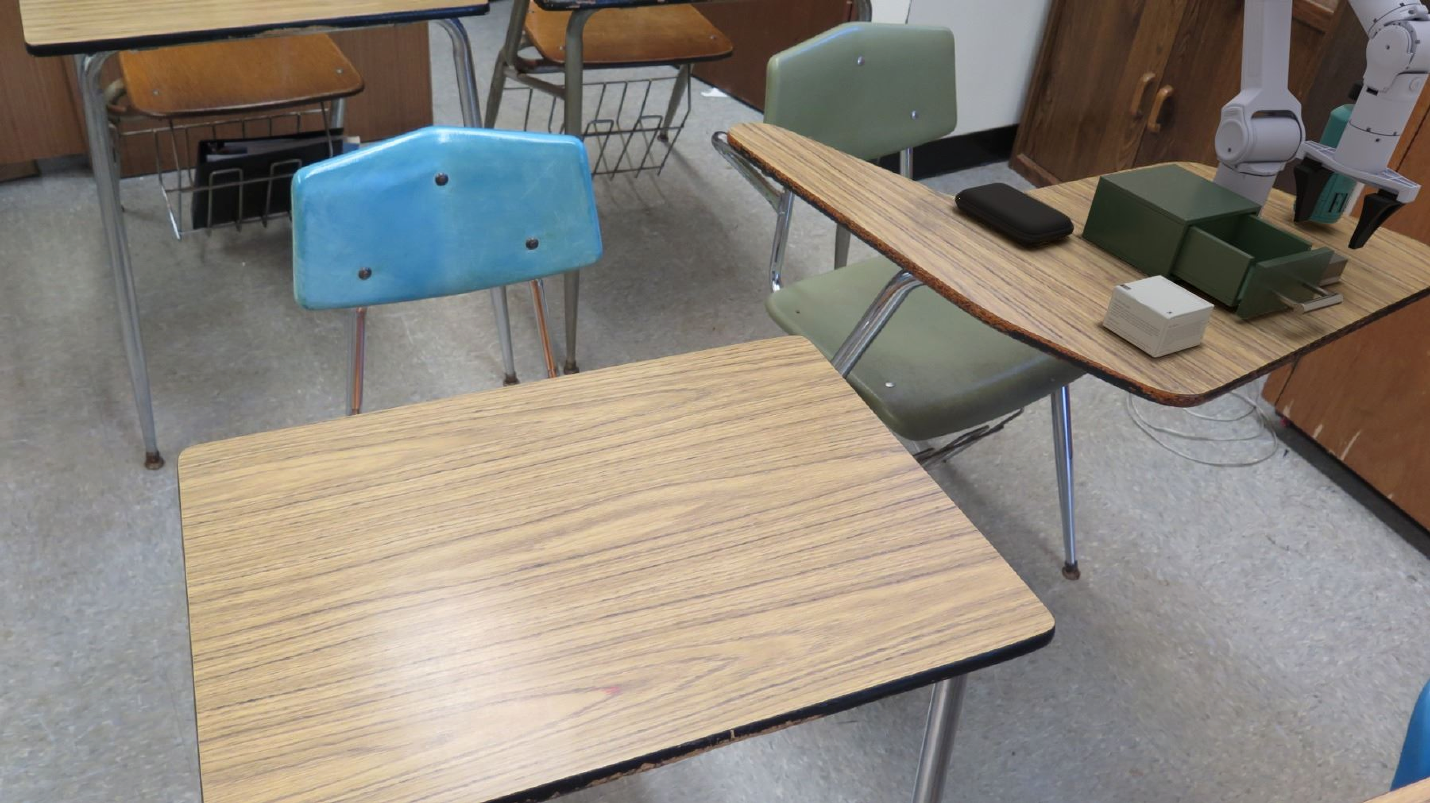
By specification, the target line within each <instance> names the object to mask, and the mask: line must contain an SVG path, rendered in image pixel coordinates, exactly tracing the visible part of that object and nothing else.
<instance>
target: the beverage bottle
mask: <svg viewBox="0 0 1430 803" xmlns="http://www.w3.org/2000/svg"><path fill="white" fill-rule="evenodd" d="M1363 86H1364V79H1362V80H1360V79H1359V80H1354V82H1353V84H1352V85H1351V87H1350V89H1349V90H1348V92H1347V95H1346V96H1347V97H1348V98H1349V99H1350V100H1352V101H1355V102H1357V100H1358V97H1359V95H1360V93H1361V90H1362V88H1363ZM1355 104H1356V103H1345V104H1343V105H1341V106H1338V107H1336V108H1334V109H1333V110H1331V112H1330V115H1329V118H1328V120H1327V122H1326V125H1325V127H1324V130H1323V133H1322V135H1321V138H1320V140H1319V142H1318V144H1321V145H1324V146H1328V147H1331V148H1335V149H1337V146H1338V144H1339V142H1340V139H1341V137H1342V135H1343V132H1344V130H1345V128H1346V125H1347V123H1348V121H1349V118H1350V116H1351V114H1352V111H1353V109H1354V107H1355ZM1356 185H1357V181H1355V180H1353V179H1351V178H1348V177H1346V176H1344V175H1341V174H1339V173H1336V172H1334V173H1333V175H1332V176H1331V178H1330V179H1329V181H1328V182H1327V184H1326V186H1325V187H1324V189H1323V191H1322V193H1321V195H1320V197H1319V199H1318V201H1317V204H1316V206H1315V209H1314V211H1313V213H1312V215H1311V217H1310V218H1309V220H1308V221H1311V222H1315V223H1320V224H1327V225H1328V224H1329V225H1330V224H1336V223H1337V222H1339V221H1340V219H1341V218H1342V216H1344V212H1345V211H1346V209H1347V208H1348V205H1349V202H1350V201H1349V200H1350V199H1352V196H1353V193H1354V190H1355V187H1356ZM1292 207H1293V208H1292V210H1293V212H1294V213H1295V208H1296V196H1295V198H1294V200H1293V203H1292Z"/></svg>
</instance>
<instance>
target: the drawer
mask: <svg viewBox="0 0 1430 803" xmlns="http://www.w3.org/2000/svg"><path fill="white" fill-rule="evenodd" d="M1260 217H1261V216H1260ZM1260 217H1257V216H1255V215H1253V214H1251V213H1246V214H1241V215H1236V216H1231V217H1226V218H1221V219H1216V220H1211V221H1206V222H1201V223H1197V224H1192V225H1188V228H1187V230H1186V233H1185V236H1184V239H1183V241H1182V244H1181V247H1180V249H1179V252H1178V255H1177V258H1176V260H1175V263H1174V266H1173V269H1172V271H1171V273H1172V274H1174V275H1176V276H1178V277H1179V278H1181V280H1183V281H1184V282H1186V283H1188V284H1190V285H1192V286H1193V287H1195V288H1197V289H1199V290H1200V291H1202V292H1204V293H1205V294H1207V295H1209V296H1211V297H1212V298H1214V299H1216V300H1218V301H1220V302H1222V303H1223V304H1225V305H1227V306H1228V307H1235V306H1238V307H1237V310H1236V312H1235V315H1236V316H1237V317H1238V318H1240V319H1243V320H1245V319H1250V318H1253V317H1257V316H1261V315H1265V314H1268V313H1272V312H1275V311H1279V310H1283V309H1286V308H1290V307H1291V308H1292V309H1293V313H1295V314H1296V315H1297V316H1303V315H1308V314H1310V313H1314V312H1318V311H1321V310H1325V309H1328V308H1333V307H1336V306H1340V305H1341V304H1343V302H1344V296H1343V295H1342V294H1341V293H1339V292H1335V293H1334V292H1333V293H1330V292H1328V291H1327V290H1325V289H1323V288H1321V287H1319V285H1320V282H1321V280H1322V278H1323V276H1324V274H1325V271H1326V269H1327V267H1328V265H1329V263H1330V260H1331V258H1332V256H1333V254H1334V252H1335V250H1334V249H1332V248H1330V247H1328V246H1323V247H1319V248H1314V249H1312V248H1313V246H1314V243H1313V242H1310V241H1308V240H1307V239H1305V238H1303V237H1301V236H1298V235H1296V234H1295V233H1292V232H1290V231H1288V230H1286V229H1284V228H1282V227H1280V226H1278V225H1276V224H1273V223H1272V222H1270V221H1268V220H1266V219H1264V218H1263V217H1261V218H1260ZM1335 253H1336V252H1335ZM1316 295H1318V296H1319V297H1315V296H1316Z"/></svg>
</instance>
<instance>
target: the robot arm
mask: <svg viewBox="0 0 1430 803" xmlns="http://www.w3.org/2000/svg"><path fill="white" fill-rule="evenodd" d="M1347 1H1348V3H1349V5H1350V6H1351V8H1352V10H1353V11H1354V13H1355V15H1356V17H1357V19H1358V21H1359V22H1360V24H1361V26H1362V28H1363V30H1364V32H1365V33H1366V35H1367V37H1368V42H1367V46H1366V50H1365V51H1366V52H1365V57H1366V58H1365V59H1366V69H1365V71H1364V73H1363V76H1362V79H1363V80H1364V86H1363V88H1362V90H1361V93H1360V95H1359V97H1358V100H1357V101H1355V103H1354V104H1355V107H1354V109H1353V111H1352V114H1351V116H1350V118H1349V121H1348V123H1347V125H1346V128H1345V130H1344V132H1343V135H1342V137H1341V139H1340V142H1339V144H1338V146H1337V149H1335V148H1331V147H1328V146H1324V145H1321V144H1319V142H1315V141H1312V140H1306V127H1305V125H1304V122H1303V118H1302V104H1301V103H1300V101H1299V100H1298V99H1297V98H1296V97H1295V95H1293V93H1291V91H1290V90H1289V88H1288V86H1289V85H1288V83H1289V68H1290V67H1289V66H1290V50H1291V49H1290V48H1291V31H1292V15H1293V0H1244V9H1243V10H1244V13H1243V30H1242V31H1243V34H1242V53H1241V54H1242V55H1241V75H1240V92H1239V93H1238V94H1237V95H1236V96H1234V97H1233V98H1232V99H1231V100H1230V101H1228V102H1227V103H1226V104H1225V105H1224V106H1223V107H1222V108H1221V110H1220V113H1221V114H1220V122H1219V125H1218V128H1217V130H1216V132H1215V137H1214V149H1215V153H1216V156H1217V157H1216V160H1217V161H1218V162H1219V163H1218V166H1217V169H1216V172H1215V174H1214V177H1213V180H1212V182H1214V183H1216V184H1218V185H1220V186H1222V187H1224V188H1226V189H1228V190H1230V191H1233V192H1235V193H1237V194H1239V195H1241V196H1243V197H1245V198H1247V199H1249V200H1251V201H1253V202H1256V203H1258V204H1260V205H1262V207H1261V210H1260V213H1259V215H1258V217H1260V218H1262V217H1261V216H1262V213H1263V210H1264V208H1265V206H1266V203H1267V201H1268V198H1269V196H1270V193H1271V191H1272V189H1273V186H1274V184H1275V181H1276V178H1277V176H1278V174H1279V172H1280V171H1284V169H1285V167H1286V164H1288V163H1290V162H1293V161H1295V159H1299V160H1302V161H1300V163H1297V164H1295V165H1294V166H1293V169H1292V171H1293V175H1294V181H1295V182H1294V183H1295V191H1296V194H1295V197H1296V198H1295V200H1296V208H1295V212H1294V215H1293V222H1294V223H1296V224H1302V223H1306V222H1309V221H1310V220H1309V218H1310V217H1311V215H1312V213H1313V211H1314V209H1315V206H1316V204H1317V201H1318V199H1319V197H1320V195H1321V193H1322V191H1323V189H1324V187H1325V186H1326V184H1327V182H1328V181H1329V179H1330V178H1331V176H1332V175H1333V173H1334V172H1336V173H1339V174H1341V175H1344V176H1346V177H1348V178H1351V179H1353V180H1355V181H1356V182H1357V183H1360V184H1363V185H1365V186H1367V187H1369V188H1371V189H1374V190H1377V192H1373V193H1372V192H1371V193H1366V194H1365V195H1364V197H1363V203H1362V208H1361V213H1360V215H1359V219H1358V222H1357V224H1356V227H1355V228H1354V231H1353V233H1352V235H1351V237H1350V239H1349V241H1348V246H1347V248H1348V249H1349V250H1350V249H1351V250H1353V251H1354V250H1358V249H1363V248H1364V246H1365V245H1366V244H1367V242H1368V241H1369V240H1370V238H1371V237H1372V236H1373V235H1374V233H1375V232H1376V231H1377V230H1378V229H1379V228H1380V227H1381V226H1382V225H1383V224H1384V223H1385V222H1386V221H1387V220H1388V219H1389V218H1391V216H1393V215H1394V214H1395V213H1396V212H1398V211H1399V210H1400V209H1401V208H1403V207H1404V206H1406V205H1407V204H1408V203H1412V202H1414V201H1415V200H1416V198H1417V196H1418V194H1419V192H1420V190H1421V188H1422V185H1421V184H1418V183H1417V182H1414V181H1412V180H1410V179H1408V178H1406V177H1405V176H1403V175H1402V174H1399V173H1398V172H1396V171H1395V170H1394V169H1393V170H1392V169H1391V168H1389V167H1388V165H1389V163H1390V160H1391V158H1392V156H1393V154H1394V151H1395V149H1396V148H1397V146H1398V143H1399V140H1400V139H1401V136H1402V134H1403V132H1404V130H1405V128H1406V126H1407V124H1408V121H1409V119H1410V117H1411V115H1412V112H1413V110H1414V108H1415V106H1416V104H1417V102H1418V101H1419V97H1420V95H1421V93H1422V91H1423V89H1424V87H1425V85H1426V82H1427V80H1428V78H1429V76H1430V13H1429V9H1428V7H1427V6H1426V5H1425V4H1422V2H1421V0H1347ZM1254 114H1264V115H1254Z"/></svg>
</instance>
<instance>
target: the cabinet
mask: <svg viewBox="0 0 1430 803" xmlns="http://www.w3.org/2000/svg"><path fill="white" fill-rule="evenodd" d="M1261 207H1262V205H1260V204H1258V203H1256V202H1253V201H1251V200H1249V199H1247V198H1245V197H1243V196H1241V195H1239V194H1237V193H1235V192H1233V191H1230V190H1228V189H1226V188H1224V187H1222V186H1220V185H1218V184H1216V183H1214V182H1213V180H1209V179H1207V178H1205V177H1203V176H1201V175H1200V174H1197V173H1195V172H1193V171H1191V170H1188V169H1186V168H1185V167H1183V166H1181V165H1178V164H1176V163H1171V164H1166V165H1159V166H1153V167H1147V168H1140V169H1134V170H1129V171H1122V172H1117V173H1111V174H1106V175H1105V174H1104V175H1100V176H1099V178H1098V182H1097V185H1096V188H1095V192H1094V195H1093V198H1092V201H1091V205H1090V207H1089V211H1088V215H1087V218H1086V221H1085V224H1084V226H1083V231H1082V234H1081V237H1083V238H1085V239H1086V240H1088V241H1090V242H1091V243H1093V244H1095V245H1096V246H1098V247H1100V248H1102V249H1104V250H1105V251H1107V252H1109V253H1110V254H1112V255H1113V256H1115V257H1117V258H1119V259H1120V260H1122V261H1124V262H1126V263H1127V264H1129V265H1131V266H1133V267H1134V268H1136V269H1138V270H1139V271H1141V272H1143V273H1144V274H1145V275H1148V276H1150V277H1154V276H1159V275H1161V276H1162V277H1164V278H1166V279H1168V280H1169V281H1171V282H1173V283H1174V282H1177V281H1181V280H1182V279H1181V278H1179V277H1178V276H1176V275H1174V274H1172V273H1171V271H1172V269H1173V266H1174V263H1175V260H1176V258H1177V255H1178V252H1179V249H1180V247H1181V244H1182V241H1183V239H1184V236H1185V233H1186V230H1187V228H1188V225H1192V224H1197V223H1201V222H1206V221H1211V220H1216V219H1221V218H1226V217H1231V216H1236V215H1241V214H1246V213H1251V214H1253V215H1255V216H1257V217H1258V215H1259V213H1260V210H1261Z"/></svg>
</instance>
